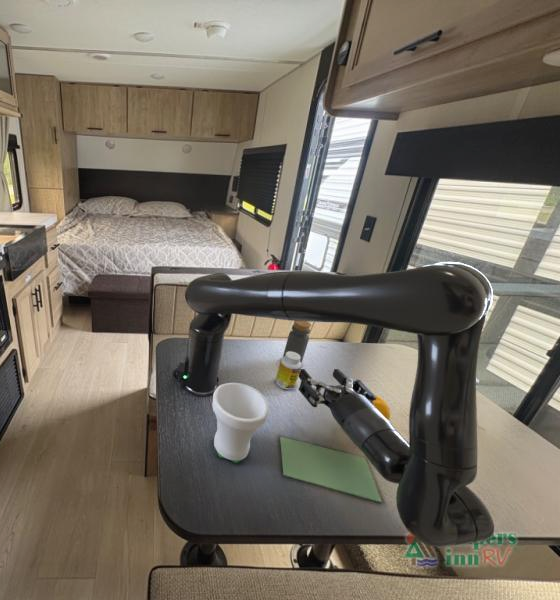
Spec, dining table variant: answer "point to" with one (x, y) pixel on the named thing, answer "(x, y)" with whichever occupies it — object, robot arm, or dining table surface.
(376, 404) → the orange fruit
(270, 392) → the dining table surface
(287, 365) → the supplement bottle
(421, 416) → the robot arm
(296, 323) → the bottle
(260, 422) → the cup
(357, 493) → the cloth
